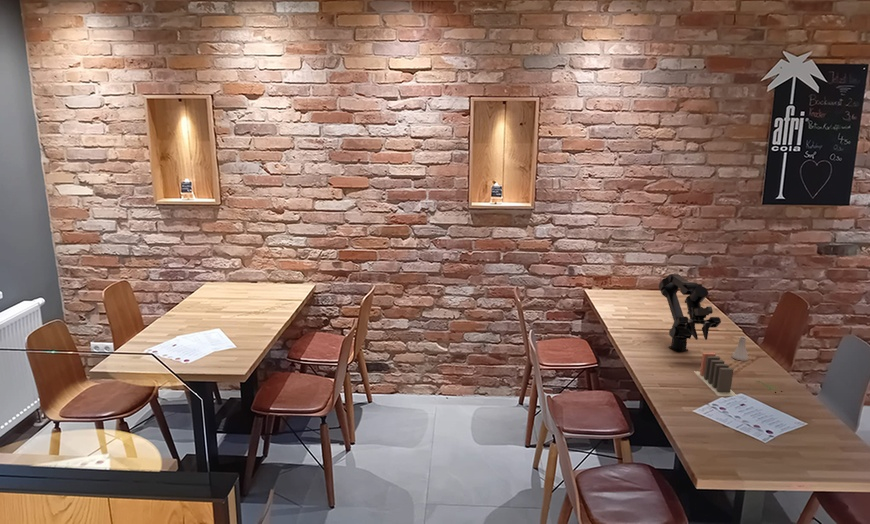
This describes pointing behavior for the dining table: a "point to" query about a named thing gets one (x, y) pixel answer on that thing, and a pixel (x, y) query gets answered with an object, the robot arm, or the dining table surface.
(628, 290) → the dining table surface
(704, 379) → the strip
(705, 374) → the domino
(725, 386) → the domino
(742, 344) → the flask
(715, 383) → the domino
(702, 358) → the domino
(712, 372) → the domino
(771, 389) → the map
